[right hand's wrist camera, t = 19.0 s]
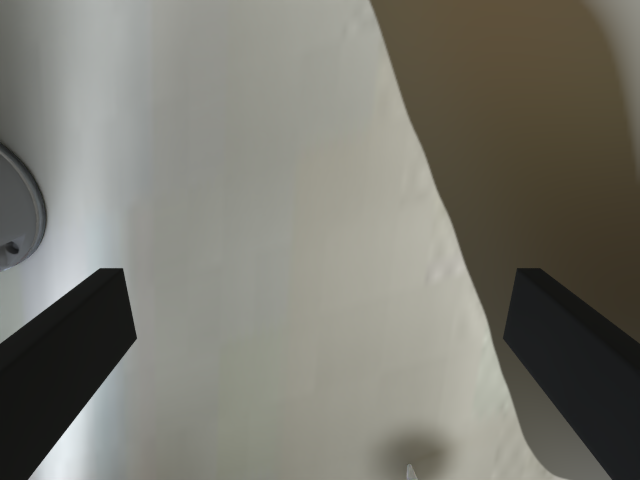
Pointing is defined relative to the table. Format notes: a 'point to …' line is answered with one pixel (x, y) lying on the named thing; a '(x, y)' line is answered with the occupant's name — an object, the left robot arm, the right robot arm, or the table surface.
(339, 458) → the table surface
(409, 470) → the mushroom
